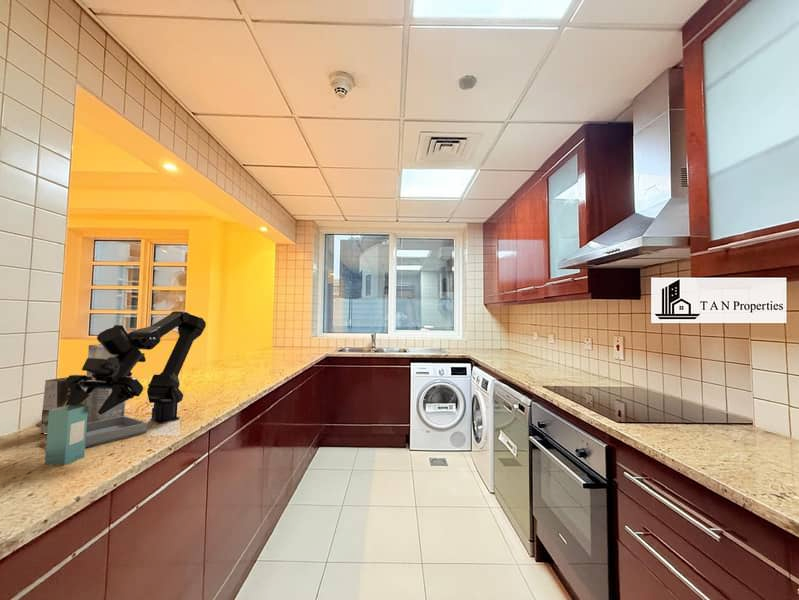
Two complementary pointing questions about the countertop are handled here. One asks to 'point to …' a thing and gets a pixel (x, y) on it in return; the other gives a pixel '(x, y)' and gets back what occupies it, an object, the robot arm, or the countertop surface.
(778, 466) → the countertop surface
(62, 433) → the tea tin
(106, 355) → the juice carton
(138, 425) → the tray
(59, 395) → the coffee box
